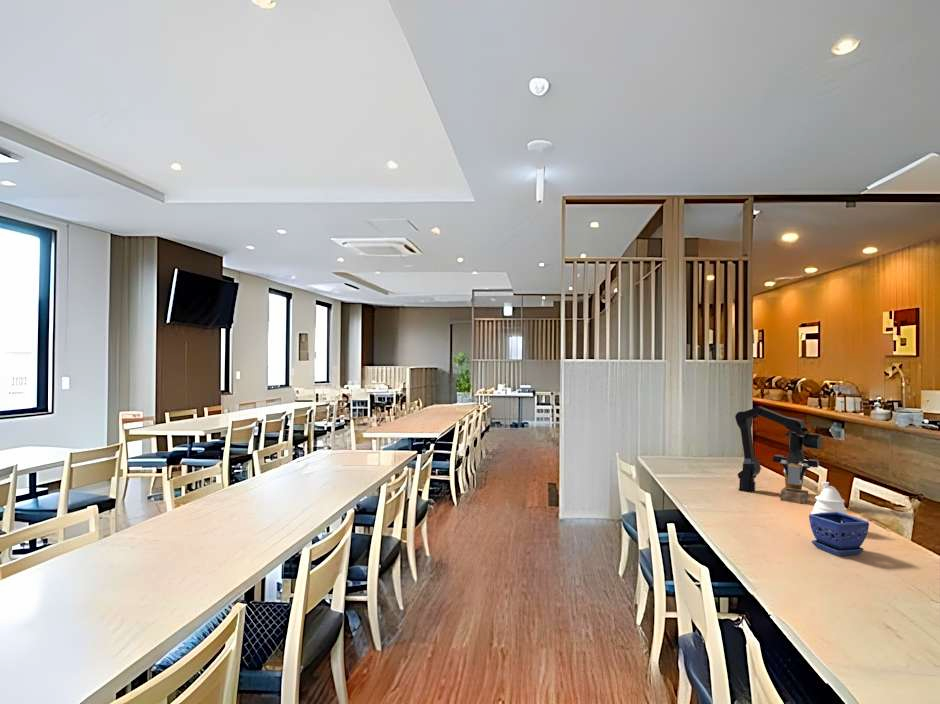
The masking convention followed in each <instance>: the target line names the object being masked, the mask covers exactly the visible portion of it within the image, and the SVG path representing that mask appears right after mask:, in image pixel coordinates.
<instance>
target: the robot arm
mask: <svg viewBox="0 0 940 704" xmlns="http://www.w3.org/2000/svg"><path fill="white" fill-rule="evenodd" d="M759 416H760V417H762V418H765V419H768V420H770V421H773V422H775V423H778V424H780V425H782V426H783V427H784V428H785V429H787V430H788V431H787V432H786V433H784V435H785V436H787V437H789V441H788V442H789V443H788V444H789V445H788V452H787V454H786V455H787V456H786V457H784V455H781V454H775V455H773V456H772V462H773V463H777V464H778V463H779V464H780V465H781V466H782V467H783V470H784V469H785V471H786V474H787V477H788V464H790V463H793V464H802V472H801V480H802V479H803V480H804V477H805V475H806V473H807V470H808V469H810V468H819V466H820V461H819V460H818V459H814V458H813V459H812V458H809V459H805V454H804V447H805V449H814V450H821V449H822V446H823V440H822V437H821V434H818V433H816V434H815V433H811V432H810V430H809V429H808V428H807V426H806V422H805V421H804V420H803V419H801V418H795V417H790V416H789V417H788V416H786V415H783V414H781V413H777V412H776V411H773V410H771V409H768V408H766V407H764V406H755V407H753V408H750V409H748V410H745V411H744V410H743V411H742V410H741V411H738V412H737V413H736V414H735V421H736V424H737V426H738V428H739V430H740V435H741V442H742V450H743V456H744V459H743V462H742V470H740V471H739V472H738V473H737V477H738V479H739V483H738V484H739V485H738V486H739V488H738V491H742V492H748V493H754V492H755V491H756V481H755V479H756V478H757V476H759V474H760V472H761V469H762V467H761V460H757V459H756V457H755V452H754V451H755V450H754V449H755V448H754V444H753V443H754V442H753V435H752V426H753V423H754V422H753V421H754V420H753V419H755V418H757V417H759ZM803 476H804V477H803Z"/></svg>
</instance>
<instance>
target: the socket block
mask: <svg viewBox="0 0 940 704" xmlns="http://www.w3.org/2000/svg"><path fill="white" fill-rule="evenodd" d="M780 501H781V502H782V501H783V502H788V503H793V504H794V503H795V504H800V505H805V504H807V502H808V501H809V490H805V489H801V490H800V489H793V488H786V486H784V487H783V488H782V489H781V490H780Z"/></svg>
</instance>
